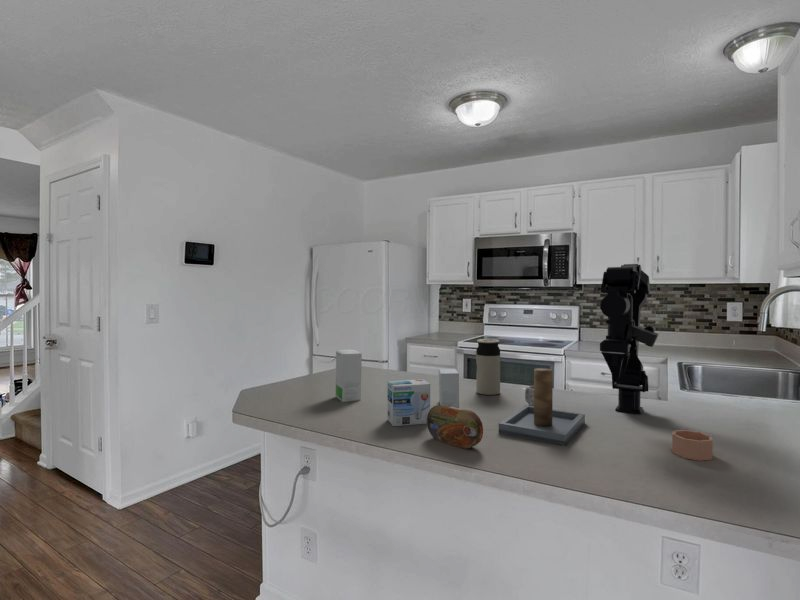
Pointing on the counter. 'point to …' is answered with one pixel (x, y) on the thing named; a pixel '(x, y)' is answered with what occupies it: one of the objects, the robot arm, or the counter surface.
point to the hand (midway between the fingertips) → (619, 376)
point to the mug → (529, 395)
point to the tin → (455, 426)
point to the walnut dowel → (543, 397)
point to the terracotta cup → (692, 445)
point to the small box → (449, 387)
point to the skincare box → (348, 375)
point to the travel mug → (488, 367)
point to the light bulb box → (408, 402)
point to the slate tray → (558, 433)
